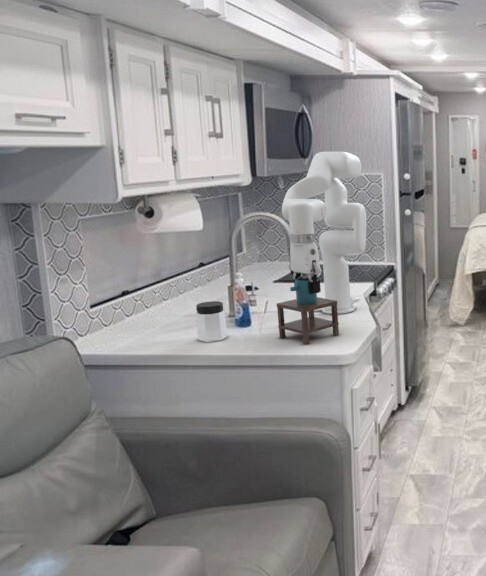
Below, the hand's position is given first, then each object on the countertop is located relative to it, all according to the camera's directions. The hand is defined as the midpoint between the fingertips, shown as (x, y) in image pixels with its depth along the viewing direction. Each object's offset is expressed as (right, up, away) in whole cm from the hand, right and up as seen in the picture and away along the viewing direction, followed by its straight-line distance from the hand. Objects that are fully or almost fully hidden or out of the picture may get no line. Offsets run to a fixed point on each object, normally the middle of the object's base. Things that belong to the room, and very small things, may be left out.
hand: (306, 291), depth 224 cm
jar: (-32, -16, +1) cm, 36 cm away
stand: (0, -15, +3) cm, 16 cm away
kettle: (0, -4, +1) cm, 4 cm away
